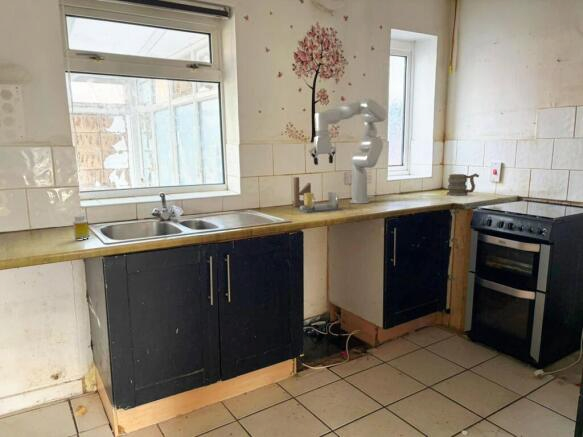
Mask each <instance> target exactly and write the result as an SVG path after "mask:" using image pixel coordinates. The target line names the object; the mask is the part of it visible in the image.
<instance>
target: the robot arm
mask: <svg viewBox="0 0 583 437" xmlns="http://www.w3.org/2000/svg"><path fill="white" fill-rule="evenodd" d="M359 115H361V120H362V122H363V127H364V128H363V132H362V135H361V137H360V140H359V143H358V150H359V151H358V152H357V151H355V152H354V153H352V154H351V155H350V160H349V162H350V168H351V199H350V200H349V203H350V204H368V203H370V200H371V199H374V195H369V194H368V172H367V170H366V168H367V169H371V168H374V167H375V166H376V165H377V163H378V161H379V158H380V155H381V154H382V151H383V148H384V142H383V139H382V138H381V137H379V136H377V135H378V128H377V126H376V123H382V122H384V121H385V120H386V119H387V116H388V115H387V111H386V109H385V108H384V107H383V106H382V105H381V104H380V103H378V102H377V101H375V99H372V98H363V99H356V100H355V101H351V102H349V103H345V104H343V105H339V106H336V107H334V108H333V107H332V108H330V109H327V110H324V111H317V112H315V113H314V128H315V129H314V130H315V133H314V134H315V136H314V137H313V147H312V148H311V149H309V150H308V152H309V153H310V156H311V157H312V158H313V164H314V165H315V166H318V165H319V159H318V156H319V155H325V154H326V155H328V163H329V164H333V162H334V155H335V154H336V152H337V147H334V146H333V145H332V141H331V140H332V139H331V136H330V134H331V131H329V125H330V126H331V125H337V124H339V123H340V122H341V120H342V121H344V120H350V119H352V118H354V117H357V116H359Z"/></svg>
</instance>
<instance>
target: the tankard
mask: <svg viewBox="0 0 583 437" xmlns="http://www.w3.org/2000/svg"><path fill="white" fill-rule="evenodd" d="M448 177H449V178H447V181H448V186H447V189H448V191H447V192H446V195H447V196H451V197H452V196H453V197H463V196H464V197H465V196H468V193H473V192H474V191H475V189H476V184H475V182H474V178H479V177H480V175H479V174H478V173H474V174H471V175H467V174H464V173H461V174H459V173H458V174H457V173H454V174H449V175H448ZM468 179H469V181H470V186H471V187H470V189H467V187H468V186H467V182H468Z"/></svg>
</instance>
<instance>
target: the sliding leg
mask: <svg viewBox="0 0 583 437" xmlns="http://www.w3.org/2000/svg"><path fill="white" fill-rule="evenodd" d="M303 200H304V206H305V205H307V209H309V208H313V209H315V205H316V204H315V201H316V198H315V197H314V192H311V193H304V197H303Z"/></svg>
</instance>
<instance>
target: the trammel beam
mask: <svg viewBox="0 0 583 437" xmlns="http://www.w3.org/2000/svg"><path fill="white" fill-rule="evenodd" d="M327 193H328V195H327V196H328V197H327V198H328V199H327V200H328V201H327V202H328V203H320V204H319V203H318V204H315V208H324V207H334V206H336V207H339V197H340V196H339V195H336V194H337V193H336V192H334V191H328V192H327ZM299 208H300V209H307V205H305V206H300V207H299ZM309 209H313V208H309Z"/></svg>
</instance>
